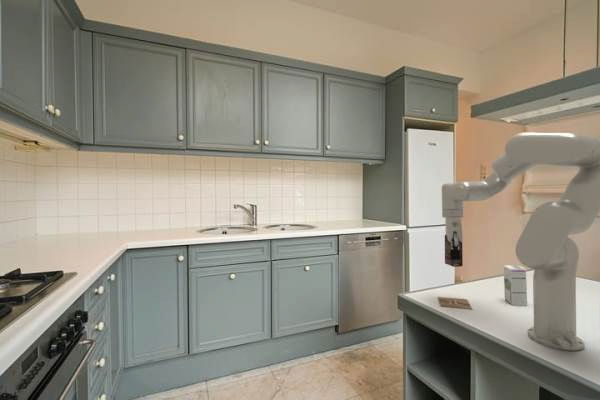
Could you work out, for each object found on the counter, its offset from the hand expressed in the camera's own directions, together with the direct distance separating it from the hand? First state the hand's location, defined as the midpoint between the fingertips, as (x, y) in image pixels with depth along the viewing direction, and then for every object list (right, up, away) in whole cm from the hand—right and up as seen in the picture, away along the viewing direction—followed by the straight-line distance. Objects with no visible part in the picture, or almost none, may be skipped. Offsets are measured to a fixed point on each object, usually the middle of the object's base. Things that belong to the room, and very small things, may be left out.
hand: (453, 257), depth 117 cm
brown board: (0, -19, 0) cm, 19 cm away
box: (0, -3, 0) cm, 3 cm away
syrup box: (+24, -18, -1) cm, 30 cm away
